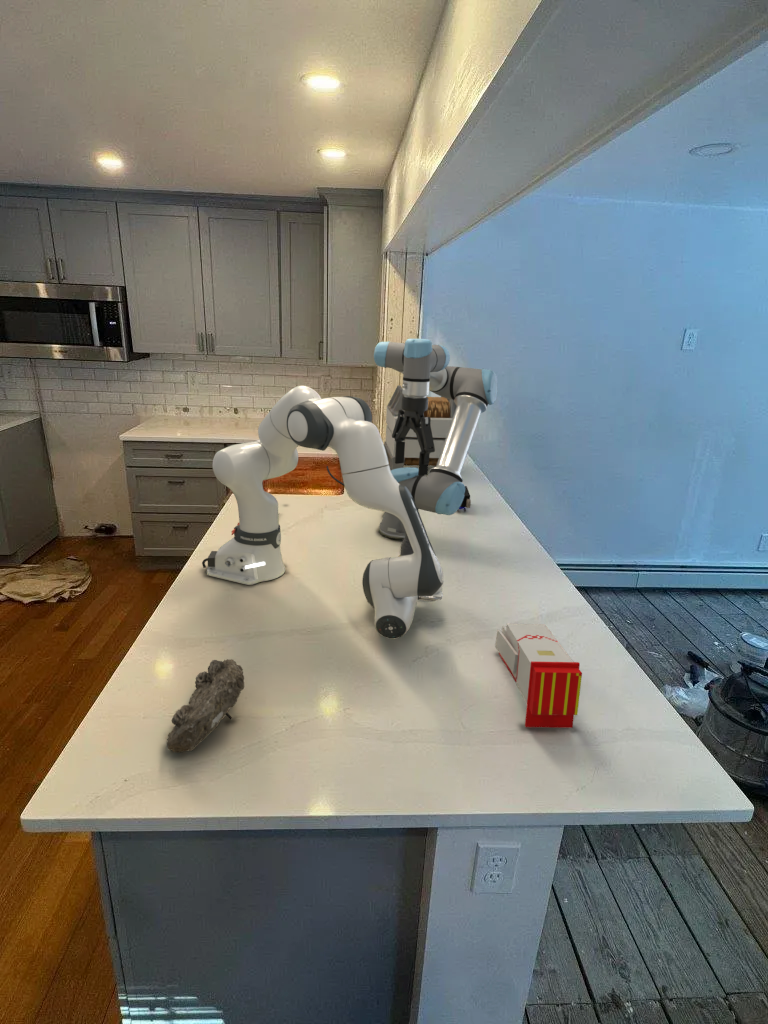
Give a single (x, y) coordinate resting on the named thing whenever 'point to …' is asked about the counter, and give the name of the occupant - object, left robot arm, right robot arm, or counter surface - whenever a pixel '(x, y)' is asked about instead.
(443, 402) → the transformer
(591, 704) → the counter surface
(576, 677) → the toy
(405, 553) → the bottle
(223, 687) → the fossil
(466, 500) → the figurine character
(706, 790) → the counter surface
